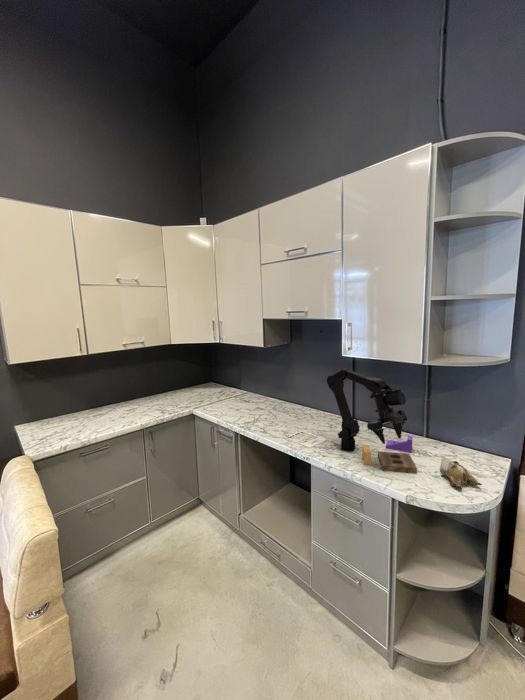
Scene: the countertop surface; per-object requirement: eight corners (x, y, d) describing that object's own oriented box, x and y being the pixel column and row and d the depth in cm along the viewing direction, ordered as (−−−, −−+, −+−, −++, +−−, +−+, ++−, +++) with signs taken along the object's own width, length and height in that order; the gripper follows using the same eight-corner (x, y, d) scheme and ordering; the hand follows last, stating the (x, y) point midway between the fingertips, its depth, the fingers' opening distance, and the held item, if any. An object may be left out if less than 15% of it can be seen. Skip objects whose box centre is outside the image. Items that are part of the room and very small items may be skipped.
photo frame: (309, 447, 160) (285, 437, 173) (309, 449, 160) (285, 439, 173) (327, 439, 169) (302, 430, 183) (327, 441, 169) (302, 432, 183)
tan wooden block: (363, 465, 141) (364, 452, 140) (362, 457, 148) (362, 444, 148) (370, 466, 140) (371, 452, 139) (368, 457, 148) (369, 445, 147)
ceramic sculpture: (454, 451, 133) (484, 470, 119) (452, 470, 135) (482, 491, 120) (432, 454, 131) (461, 474, 117) (431, 473, 133) (458, 494, 118)
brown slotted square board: (382, 470, 136) (382, 465, 135) (377, 456, 149) (377, 451, 149) (416, 473, 133) (417, 468, 132) (408, 458, 146) (408, 453, 146)
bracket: (412, 447, 158) (412, 435, 157) (411, 453, 152) (411, 440, 151) (387, 443, 164) (387, 431, 163) (385, 448, 158) (385, 436, 157)
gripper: (379, 410, 129) (389, 448, 127) (412, 401, 136) (421, 437, 134) (362, 411, 139) (371, 445, 137) (393, 402, 146) (402, 435, 144)
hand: (392, 441), depth 138 cm, fingers open, 9 cm apart
